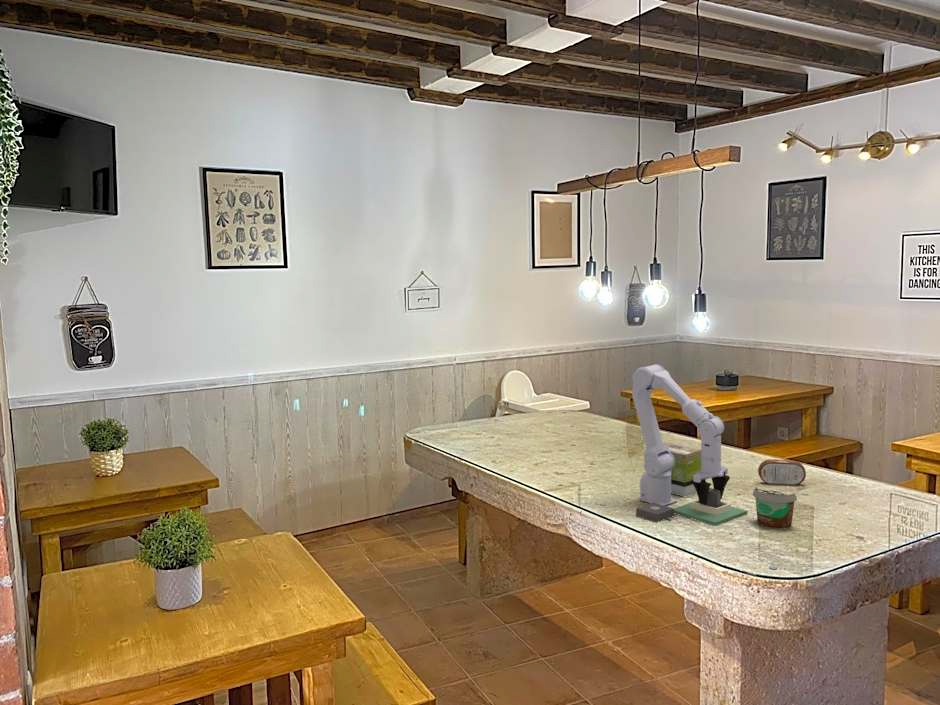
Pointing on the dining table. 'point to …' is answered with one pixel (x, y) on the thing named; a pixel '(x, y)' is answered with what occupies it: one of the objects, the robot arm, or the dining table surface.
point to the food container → (774, 508)
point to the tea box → (684, 468)
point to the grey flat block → (655, 512)
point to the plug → (713, 498)
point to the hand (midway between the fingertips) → (710, 500)
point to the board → (710, 512)
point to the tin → (782, 472)
